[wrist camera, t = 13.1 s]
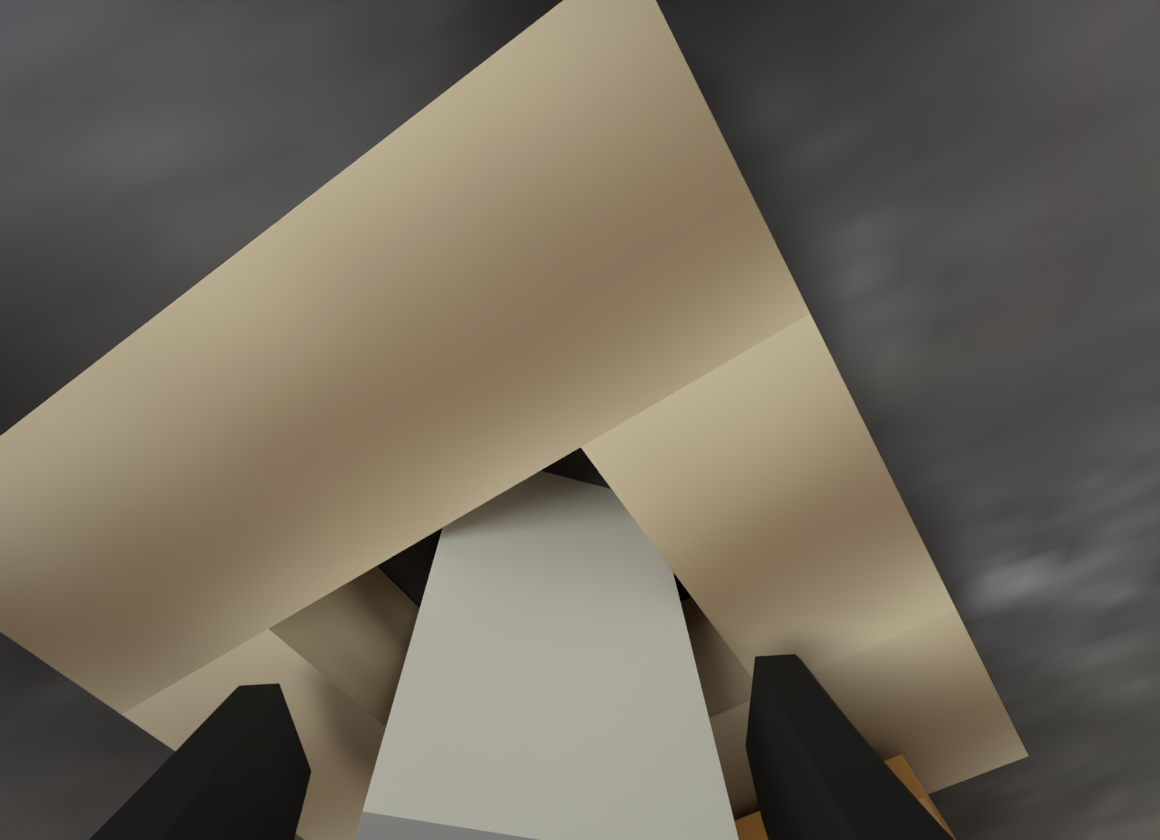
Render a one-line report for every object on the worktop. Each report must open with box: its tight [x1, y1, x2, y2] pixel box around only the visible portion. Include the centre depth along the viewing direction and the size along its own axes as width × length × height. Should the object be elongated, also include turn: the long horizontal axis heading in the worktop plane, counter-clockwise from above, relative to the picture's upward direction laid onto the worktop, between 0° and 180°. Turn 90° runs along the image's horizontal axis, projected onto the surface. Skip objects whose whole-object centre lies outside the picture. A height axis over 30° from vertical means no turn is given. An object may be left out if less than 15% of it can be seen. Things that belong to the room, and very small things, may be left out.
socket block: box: [0, 0, 1028, 840], centre depth 12 cm, size 15×13×3 cm
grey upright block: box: [354, 471, 739, 840], centre depth 10 cm, size 4×4×8 cm
